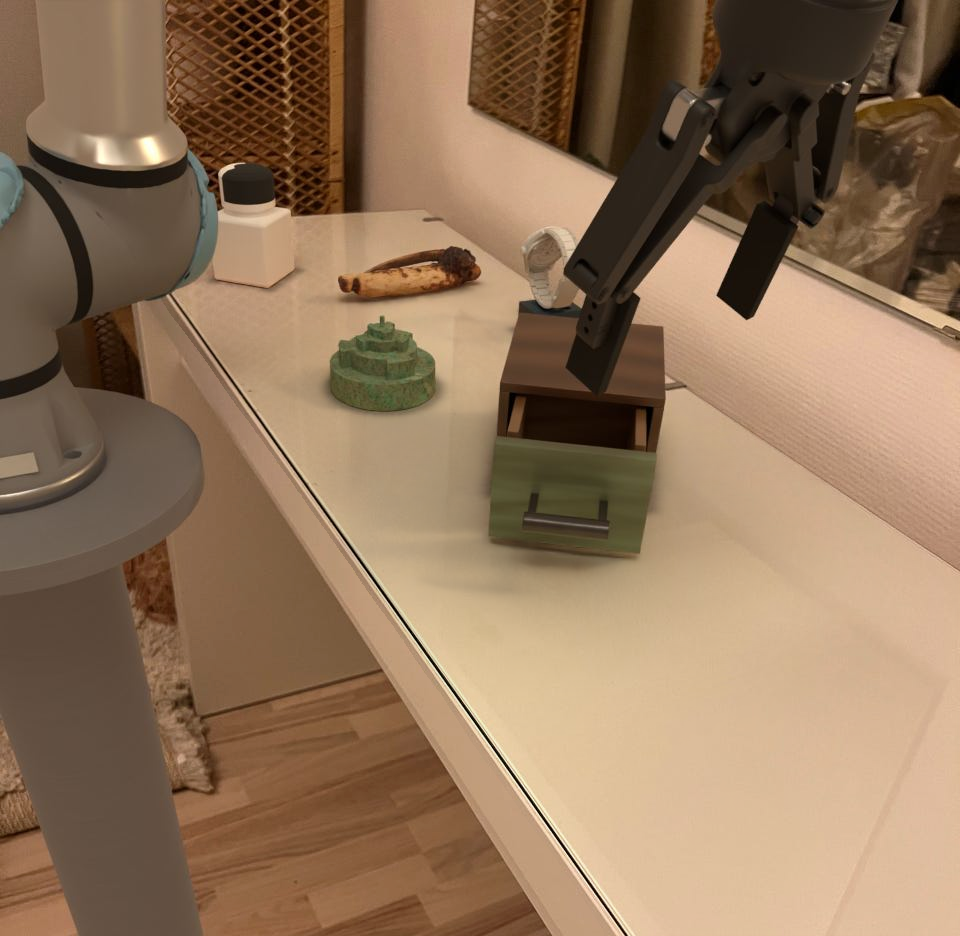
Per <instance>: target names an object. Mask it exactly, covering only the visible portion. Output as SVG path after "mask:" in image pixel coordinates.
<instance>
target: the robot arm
mask: <svg viewBox="0 0 960 936" xmlns="http://www.w3.org/2000/svg"><path fill="white" fill-rule="evenodd" d="M898 2H899V0H715V1H714V4H713V8H712V14H711V17H712V24H713V28H714V31H715V33H716V36H717V39H718V43H719V47H720V49H719V50H720V57H719V59H718V61H717V64H716V65H715V67H714V69H713V71H712V72H711V74H710V76H709V77H708V79H707V80H706V82H705V83H704V85H703V87H702V88H697V89H690V88H688V87H687V86H686V85H685V84H683V83H682V82H680V81H679V80H678V79H671V80H669V81H668V82H667V83H666V84H665V85H664V87H663V88H662V89H661V92H660V93H659V96H658V98H657V100H656V104H655V106H654V109H653V111H652V113H651V116H650V120H649V122H648V123H647V126H646V129H645V131H644V133H643V134H642V137H641V138H640V140H639V141H638V143H637V145H636V147H635V148H634V149H633V151H632V153H631V155H630V157H629V158H628V160H627V161H626V163H625V165H624V166H623V168H622V170H621V172H620V173H619V175H618V176H617V178H616V180H615V182H614V183H613V185H612V187H611V188H610V190H609V192H608V193H607V194H606V197H605V198H604V200H603V202H602V203H601V205H600V207H599V208H598V210H597V212H596V213H595V215H594V217H593V218H592V220H591V222H590V223H589V225H588V227H587V228H586V230H585V231H584V234H583V235H582V237H581V238H580V240H579V241H578V245H577V247H576V248H575V250H574V252H573V253H572V255H571V257H570V258H569V260H568V262H567V263H566V265H565V266H563V267H564V271H563V270H562V274H563V273H564V276H566V277H567V278H568V279H569V280H570V281H571V282H572V283H574V284H575V285H576V286H577V287H578V288H579V291H582V293H583V294H585V297H584V300H583V303H582V306H581V308H582V309H581V313H580V316H579V319H578V322H577V325H576V336H575V339H574V342H573V345H572V348H571V351H570V355H569V358H568V361H567V364H566V367H565V368H566V369H567V370H569V371H570V372H571V373H572V374H573V375H574V376H575V377H576V378H577V379H578V380H579V381H581V382H582V383H583V384H584V385H585V386H586V387H587V388H588V389H589V390H590V391H591V392H593V393H594V394H595V395H596V396H599V395H601V394H603V393H605V392H606V391H607V388H608V385H609V382H610V380H611V377H612V374H613V372H614V369H615V366H616V364H617V361H618V358H619V355H620V353H621V350H622V347H623V345H624V342H625V339H626V337H627V334H628V331H629V329H630V326H631V323H632V324H633V321H634V317H635V315H636V312H637V311H638V307H639V305H640V301H641V297H640V296H639V295H638V294H637V293H635V291H636V290H637V288H638V287H639V286H640V284H641V283H642V282H643V281H644V280H645V278H646V277H647V276H648V274H649V273H650V272H651V271H652V270H653V268H654V267H655V266H656V264H657V263H658V262H659V261H660V260H661V258H662V257H663V256H664V255H665V253H666V252H667V251H668V250H669V248H670V247H671V246H672V245H673V244H674V243H675V241H676V240H677V238H678V237H679V236H680V234H681V233H682V232H683V231H685V228H686V227H687V226H688V225H689V224H690V222H691V221H692V220H693V219H694V218H695V216H696V215H697V214H698V213H699V211H700V210H701V209H702V207H704V205H705V204H706V202H707V201H708V200H709V199H710V197H711V196H712V195H715V194H723V193H725V192H726V191H728V190H729V189H730V187H731V186H732V185H733V184H734V183H735V181H736V180H737V179H738V177H739V176H740V175H741V174H742V172H743V171H745V170H747V169H749V168H750V167H752V166H753V165H754V164H756V163H763V165H764V170H765V177H766V183H767V189H768V191H767V192H768V197H769V198H770V200H772V202H773V204H770V203H768V202H767V201H766V200H762V201H761V202H758V203H756V205H755V206H754V209H753V212H752V214H751V215H750V218H749V220H748V223H747V225H746V227H745V230H744V232H743V234H742V236H741V238H740V241H739V243H738V245H737V247H736V250H735V252H734V254H733V256H732V258H731V261H730V263H729V265H728V267H727V270H726V272H725V274H724V277H723V279H722V281H721V283H720V286H719V288H718V290H717V291H716V295H715V296H716V297H717V298H718V299H719V300H721V301H722V302H723V303H724V304H726V305H727V306H728V307H730V309H732V310H733V311H735V313H736V314H738V316H740V317H741V318H743V319H744V320H745V321H749V320H751V319H752V318H755V316H756V313H757V311H758V309H759V307H760V305H761V304H762V301H763V299H764V297H765V296H766V294H767V291H768V289H769V287H770V285H771V283H772V281H773V279H774V277H775V275H776V273H777V271H778V268H779V267H780V265H781V263H782V261H783V259H784V257H785V255H786V253H787V251H788V249H789V247H790V245H791V243H792V241H793V238H794V236H795V235H796V233H797V231H798V228H799V225H798V224H799V222H801V223H802V224H803V225H804V226H806V227H807V228H808V229H811V230H812V229H813V228H816V226H818V224H820V222H821V221H822V219H823V218H824V215H825V213H826V211H825V209H823V208H822V207H820V206H819V205H817V204H816V202H817V201H820V202H821V203H822V204H827V203H828V202H830V200H831V199H833V198H834V196H835V195H836V193H837V191H838V188H839V186H840V185H839V184H840V180H841V176H842V171H843V167H844V163H845V159H846V154H847V150H848V146H849V141H850V136H851V132H852V128H853V123H854V119H855V114H856V110H857V106H858V101H859V96H860V93H861V90H862V89H863V86H864V84H865V82H866V79H867V77H868V75H869V72H870V70H871V67H872V65H873V63H874V60H875V57H876V54H875V52H874V51H875V49H876V47H877V45H878V43H879V41H880V39H881V37H882V35H883V33H884V31H885V28H886V27H887V24H888V23H889V21H890V18H891V16H892V14H893V12H894V10H895V8H896V6H897V4H898ZM35 7H36V8H35V9H36V10H35V11H36V20H37V32H38V42H39V52H40V62H41V72H42V85H43V92H44V100H43V101H42V102H41V104H40V105H38V106H37V107H36V108H35V109H34V110H33V111H32V112H31V113H30V114H29V115H28V116H27V117H26V119H25V120H26V121H25V132H26V139H27V140H26V141H27V151H28V152H27V153H28V161H27V163H21V164H16V163H15V161H14V160H13V159H12V158H11V157H10V156H9V155H8V154H6V153H4V152H2V151H0V514H9V513H16V512H22V511H27V510H32V509H36V508H39V507H43V506H46V505H49V504H52V503H55V502H58V501H60V500H63V499H65V498H67V497H69V496H72V495H73V494H75V493H77V492H79V491H81V490H82V489H84V488H85V487H87V486H88V485H89V484H91V483H92V482H93V481H94V480H95V479H96V478H97V477H98V476H99V475H100V474H101V472H102V471H103V469H104V467H105V464H106V460H107V456H106V450H105V445H104V440H103V436H102V433H101V431H100V430H99V427H98V425H97V424H96V422H95V420H94V419H93V417H92V416H91V414H90V412H89V411H88V409H87V407H86V406H85V404H84V402H83V401H82V399H81V398H80V396H79V394H78V393H77V391H76V389H75V388H74V387H75V386H74V384H73V383H72V382H71V381H72V380H70V378H69V376H68V375H67V373H66V371H65V368H64V363H63V359H62V356H61V351H60V346H59V342H58V337H57V333H56V331H57V330H58V329H60V328H63V327H65V326H68V325H72V324H75V323H78V322H81V321H84V320H87V319H90V318H94V317H97V316H100V315H103V314H106V313H110V312H112V311H115V310H118V309H119V310H120V309H121V308H125V307H128V306H131V305H134V304H138V303H141V302H143V301H145V302H152V301H157V300H160V299H163V298H165V297H167V296H168V295H171V294H172V293H174V292H176V291H177V290H179V289H183V288H185V287H187V286H190V285H191V284H193V283H194V282H196V281H197V280H198V279H199V278H200V277H201V276H202V275H203V274H204V273H205V272H206V270H207V269H208V267H209V266H210V264H211V262H212V257H213V255H214V252H215V248H216V244H217V238H218V211H219V210H218V205H217V199H216V195H215V193H214V192H211V191H209V190H208V185H209V183H210V179H209V176H208V174H207V172H206V169H205V168H204V166H203V164H202V163H201V161H200V160H199V159H198V158H197V156H196V155H195V154H194V153H193V151H191V150H190V149H189V148H188V147H189V146H188V145H189V144H188V138H187V136H186V134H185V133H184V132H183V130H182V129H181V128H180V127H179V126H178V125H177V124H176V123H175V122H174V121H173V120H172V118H170V116H169V115H168V97H167V96H168V94H167V93H168V91H167V87H168V86H167V85H168V83H167V23H166V21H167V20H166V15H167V13H166V0H35ZM703 148H705V151H706V153H707V154H708V155H709V156H710V157H711V158H713V159H714V160H715V161H717V162H718V163H720V164H719V165H716V164H714V163H712V162H711V161H710V160H709V159H707V158H706V157H704V156H703V155H702V154H700V153H701V151H702V149H703Z"/></svg>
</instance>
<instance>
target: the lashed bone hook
mask: <svg viewBox="0 0 960 936" xmlns="http://www.w3.org/2000/svg"><path fill="white" fill-rule="evenodd" d="M429 262H430V264H425V265H418V264H423V263H429ZM476 262H477V257H475V255H473V254H472V252H471V250H469V249H468V248H464V249H463V248H462V247H459V246H453V245H450V246H448V247H447V248H446V249H445V248H440V249H439V248H438V249H429V250H423V251H418V252H414V253H410V254H406V255H401V256H398V257H395V258H392V259H390V260H386V261H384V262H382V263H379V264H377V265H374V266H373V267H371V268H369V269H367V270H366V271H364V272H359V273H346V274H342V275H339V276H338V277H337V282H338V286H339V289H340V290H341V292H342V293H345V294H350V293H351V292H353V294H355V295H357V296H359V297H365V298H374V297H375V298H376V297H384V296H385V297H386V296H391V297H397V296H405V295H413V294H415V293H424V292H426V293H428V292H433V291H437V290H443V289H447V288H450V289H451V288H457V287H458V286H461V285H464V284H466V283H468V282H473V281H476V280H478V279H479V278H480V276H481V274H482V269H481V267H480V266H479V265H478V264H477V263H476ZM414 265H415V266H414Z"/></svg>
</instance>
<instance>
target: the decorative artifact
mask: <svg viewBox="0 0 960 936" xmlns="http://www.w3.org/2000/svg"><path fill="white" fill-rule="evenodd" d="M385 317H386V316H385V315H380V316H379V322H375V323H373V322H370V323H368V324H367V325H366V329H367V330H365V331H364V332H363V333H362V334H357V335H355V336H354V337H352V338H351V339H350V340H347V339H346V340H345V339H340V340H339V341H338V345H337V346H338V350H337V351H336V352H334V353H333V354H332V356H331V357H330V359H329V377H330V378H329V379H330V390H331V393H332V394H333V396H334V397H335V398H336V399H337V400H338V401H340V402H342V403H344V404H347V405H348V406H351V407H354V408H357V409H361V410H368V411H375V412H376V411H378V412H379V411H380V412H391V411H400V410H406V409H412V408H414V407H417V406H420V405H422V404H425V402H428V401H429V400H430V399H431V398H432V397H433V396H434V394H435V391H436V360H435V358H434V357H433V355H432V354H431V353H430V352H428V351H427V350H426V349H423V348H421V347H419V346H418V343H417V342H416V341H415V340H414V339H413V338H414V337H413V336H414V335H413V333H412V332H411V331H407V330H402V329H397V328H396V327H395V326H396V324H395V323H394V322H393V321H386V318H385Z"/></svg>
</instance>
